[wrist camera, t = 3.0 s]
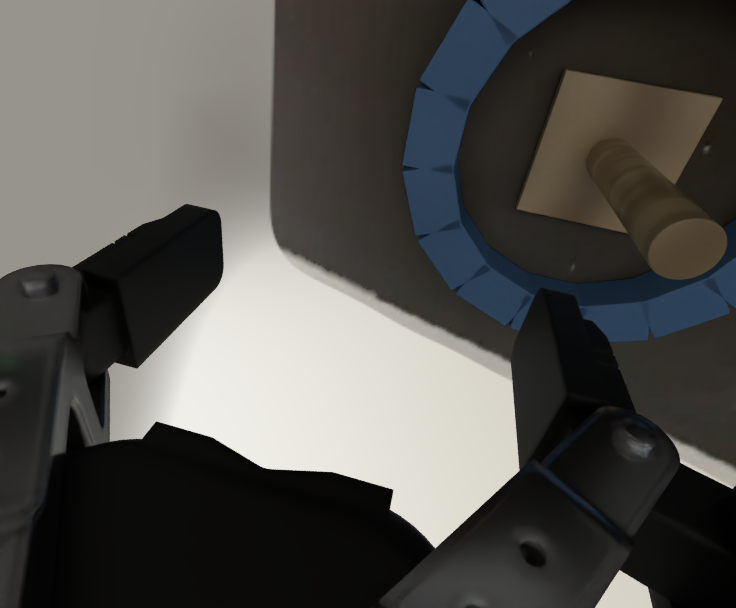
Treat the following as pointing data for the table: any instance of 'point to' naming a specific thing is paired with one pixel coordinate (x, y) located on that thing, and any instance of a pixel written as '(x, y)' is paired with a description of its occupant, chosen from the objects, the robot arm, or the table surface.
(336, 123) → the table surface
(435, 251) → the hoop
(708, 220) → the dowel stand
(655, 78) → the table surface
